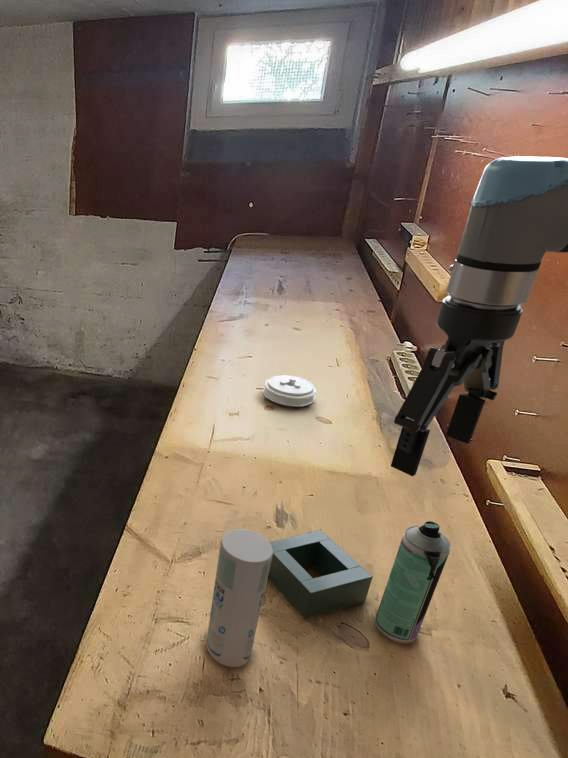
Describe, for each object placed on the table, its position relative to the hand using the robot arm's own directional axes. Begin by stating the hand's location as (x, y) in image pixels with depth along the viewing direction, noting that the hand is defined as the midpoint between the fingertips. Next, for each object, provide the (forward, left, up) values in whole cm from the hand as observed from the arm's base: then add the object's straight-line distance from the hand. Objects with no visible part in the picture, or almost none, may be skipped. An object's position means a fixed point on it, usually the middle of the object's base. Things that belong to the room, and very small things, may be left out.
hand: (431, 454), depth 74 cm
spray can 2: (-3, 0, -30) cm, 30 cm away
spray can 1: (+1, +26, -30) cm, 39 cm away
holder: (+8, +6, -30) cm, 31 cm away
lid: (+65, -34, -30) cm, 80 cm away
